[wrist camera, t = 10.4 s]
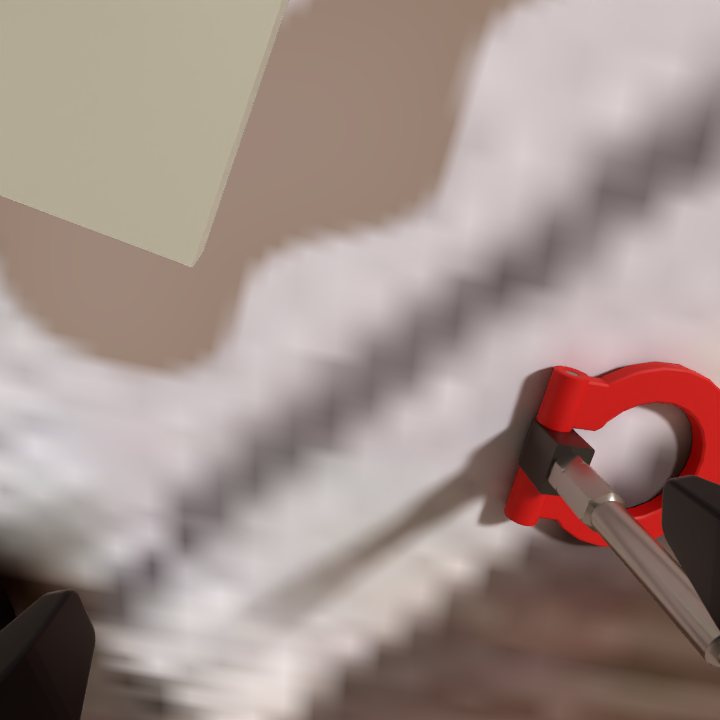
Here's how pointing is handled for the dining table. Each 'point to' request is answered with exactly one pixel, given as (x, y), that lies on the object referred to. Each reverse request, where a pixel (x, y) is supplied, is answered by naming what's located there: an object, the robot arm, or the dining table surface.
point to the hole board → (129, 111)
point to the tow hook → (597, 499)
